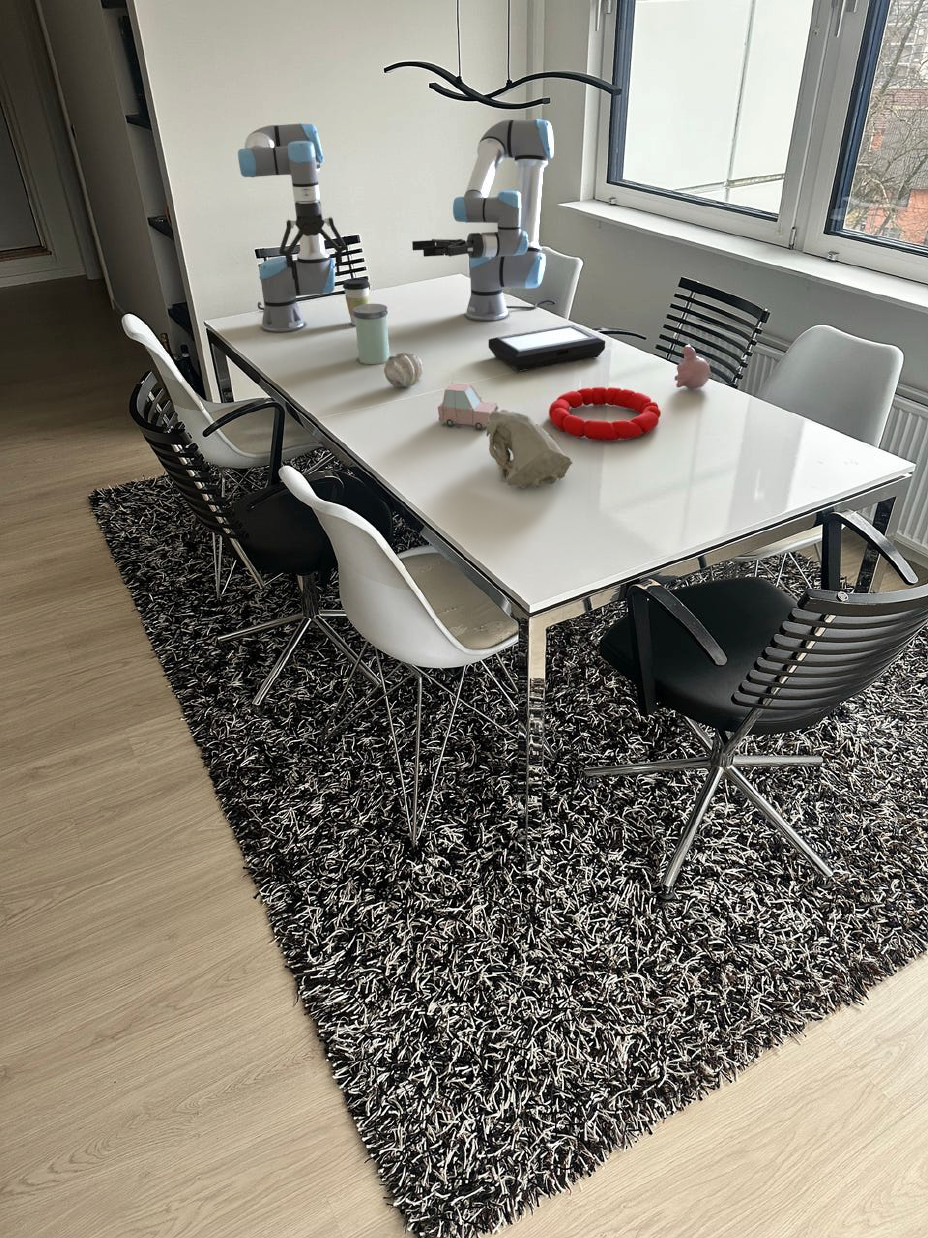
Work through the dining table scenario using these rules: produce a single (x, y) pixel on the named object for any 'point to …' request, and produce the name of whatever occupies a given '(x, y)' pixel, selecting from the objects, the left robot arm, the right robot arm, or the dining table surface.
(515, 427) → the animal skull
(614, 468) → the dining table surface
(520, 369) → the electronic device
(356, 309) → the lid
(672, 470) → the dining table surface
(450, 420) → the toy car
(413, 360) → the seashell
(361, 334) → the jar
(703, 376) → the figurine
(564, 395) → the decorative ring
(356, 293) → the coffee cup
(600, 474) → the dining table surface
